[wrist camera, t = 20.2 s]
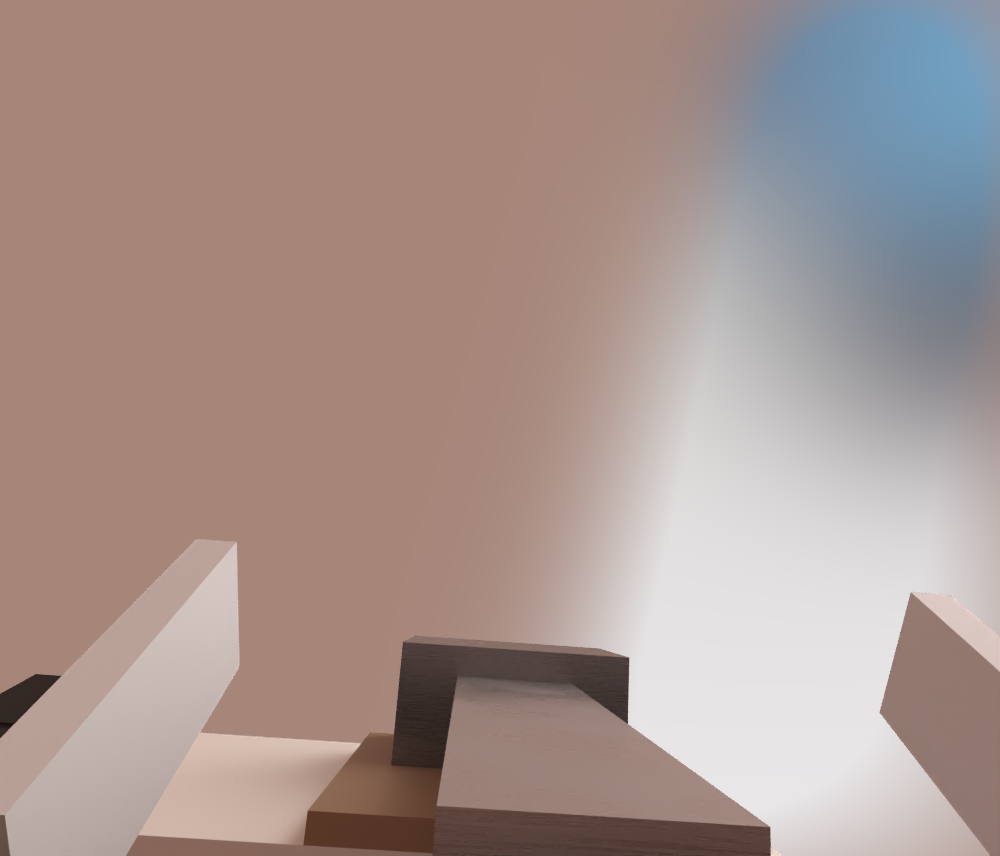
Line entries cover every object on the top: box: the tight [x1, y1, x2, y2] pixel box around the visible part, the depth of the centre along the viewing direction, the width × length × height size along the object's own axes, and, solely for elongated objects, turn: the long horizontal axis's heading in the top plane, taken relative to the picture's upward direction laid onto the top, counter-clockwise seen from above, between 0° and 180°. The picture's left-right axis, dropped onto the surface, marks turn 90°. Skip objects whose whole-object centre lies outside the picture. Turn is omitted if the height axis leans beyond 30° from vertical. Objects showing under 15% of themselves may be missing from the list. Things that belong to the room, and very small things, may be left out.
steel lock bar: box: [391, 636, 771, 856], centre depth 19 cm, size 23×8×4 cm, turn 2°
